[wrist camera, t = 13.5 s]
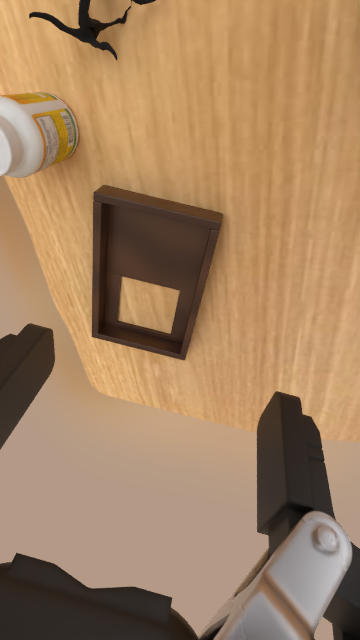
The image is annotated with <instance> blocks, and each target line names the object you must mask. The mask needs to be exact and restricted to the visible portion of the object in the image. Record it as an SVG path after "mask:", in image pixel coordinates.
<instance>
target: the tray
mask: <svg viewBox="0 0 360 640" xmlns="http://www.w3.org/2000/svg"><path fill="white" fill-rule="evenodd" d="M222 218H223V214H222V213H218V212H214V211H210V210H206V209H201V208H197V207H193V206H189V205H185V204H181V203H176V202H172V201H168V200H164V199H160V198H156V197H151V196H147V195H143V194H139V193H135V192H131V191H126V190H122V189H118V188H114V187H110V186H106V185H102V186H101V187H100V188H99V189H97V190H96V191H95V192H94V201H93V283H92V337H94V338H98V339H102V340H106V341H110V342H114V343H118V344H122V345H126V346H130V347H134V348H138V349H142V350H146V351H150V352H153V353H157V354H161V355H165V356H169V357H173V358H177V359H181V360H185V358H186V355H187V351H188V347H189V343H190V340H191V336H192V332H193V328H194V325H195V321H196V317H197V313H198V309H199V306H200V302H201V298H202V294H203V291H204V287H205V283H206V279H207V276H208V272H209V268H210V264H211V260H212V257H213V253H214V249H215V245H216V242H217V238H218V234H219V230H220V227H221V223H222ZM121 276H124V277H128V278H132V279H136V280H140V281H144V282H148V283H152V284H156V285H160V286H164V287H168V288H172V289H176V290H180V294H179V299H178V303H177V308H176V313H175V317H174V322H173V327H172V332H171V334H168V333H164V332H160V331H156V330H152V329H148V328H144V327H140V326H136V325H132V324H128V323H124V322H120V321H118V313H119V300H120V286H121Z"/></svg>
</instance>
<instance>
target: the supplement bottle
mask: <svg viewBox="0 0 360 640" xmlns="http://www.w3.org/2000/svg"><path fill="white" fill-rule="evenodd" d="M77 143H78V127H77V123H76V120H75V118H74V115H73V114H72V112H71V110H70V109H69V108H68V106H67V105H66V104H65V103H64V102H63V101H62V100H60V99H59V98H58V97H56V96H54V95H52V94H49V93H42V92H40V93H27V94H15V95H3V96H0V176H3V175H7V176H10V177H17V178H21V177H26V176H29V175H32V174H34V173H36V172H38V171H41V170H43V169H45V168H47V167H49V166H51V165H54V164H56V163H58V162H60V161H62V160H65V159H66V158H68V157H69V156H71V155H72V153H73V152H74V150H75V149H76V146H77Z"/></svg>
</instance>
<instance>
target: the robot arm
mask: <svg viewBox="0 0 360 640" xmlns="http://www.w3.org/2000/svg"><path fill="white" fill-rule="evenodd" d="M54 362H55V353H54V339H53V331H52V329H49V328H45V327H42V326H38V325H34V324H31V323H30V324H28V325H26V326H25V327H24V328H23V330H22V331H21V332H20V333H19V334H18V335H17V336H16V335H13V334H9V335H7V336H5V337H3V338H2V339H0V449H1V448H2V446H3V444H4V443H5V442H6V440H7V439H8V437H9V436H10V434H11V433H12V431H13V430H14V428H15V427H16V425H17V424H18V422H19V421H20V419H21V418H22V416H23V415H24V413H25V412H26V410H27V409H28V407H29V406H30V404H31V403H32V401H33V400H34V398H35V396H36V395H37V394H38V392H39V390H40V389H41V388H42V386H43V384H44V383H45V381H46V380H47V378H48V377H49V375H50V373H51V372H52V369H53V366H54ZM257 532H258V533H262V534H265V535H269V548H268V549H267V550H266V551H265V553H264V554H263V555H262V556H261V558H260V559H259V560H258V562H257V563H256V564H255V566H254V567H253V568H252V570H251V571H250V572H249V573H248V575H247V576H246V577H245V579H244V580H243V582H242V583H241V584H240V585H239V587H238V588H237V589H236V590H235V592H234V593H233V595H232V596H231V597H230V598H229V599H228V601H227V602H226V603H225V604H224V605H223V606H222V607H221V608H220V610H219V611H218V612H217V613H216V614H215V616H214V617H213V618H212V619H211V620H210V622H209V623H208V624H207V626H206V627H205V628H204V630H203V631H202V632H201V633H200V635H199V636H197V635H196V633H195V632H194V630H193V629H192V627H191V626H190V625H189V624H188V622H187V621H186V620H185V619H184V618H183V617H182V616H181V615H180V614H179V613H178V612H177V611H175V610H174V609H172V608H171V602H172V598H171V597H168V596H165V595H161V594H158V593H154V592H151V591H147V590H144V589H140V588H137V587H118V588H117V587H116V588H96V589H92V588H88V587H86V586H85V585H83V584H82V583H81V582H79V581H78V580H76V579H75V578H73V577H72V576H71V575H69V574H68V573H67V572H65V571H64V570H62V569H61V568H60V567H58V566H57V565H55V564H53V563H50V562H46V561H43V560H40V559H36V558H33V557H29V556H26V555H22V554H19V553H16V555H15V557H14V559H13V561H12V562H7V563H2V564H0V640H315V639H314V632H315V630H316V628H317V626H318V624H319V621H320V620H321V618H322V616H323V617H324V618H325V619H327V620H328V621H330V622H331V623H332V626H333V636H334V640H360V549H359V548H358V547H356V546H355V545H354V544H353V543H352V542H351V541H350V540H349V538H348V536H347V534H346V532H345V530H344V529H343V528H342V526H341V525H340V524H339V523H338V522H337V521H336V519H335V516H334V512H333V507H332V502H331V496H330V490H329V484H328V478H327V473H326V467H325V463H324V455H323V450H322V444H321V438H320V432H319V430H318V428H317V426H316V425H315V423H314V421H313V419H312V417H310V416H306V415H303V414H302V407H301V401H300V398H299V397H296V396H293V395H289V394H285V393H282V392H278V391H277V392H275V393H274V395H273V397H272V398H271V400H270V402H269V403H268V405H267V407H266V408H265V410H264V412H263V413H262V415H261V417H260V420H259V423H258V428H257Z"/></svg>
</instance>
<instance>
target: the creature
mask: <svg viewBox="0 0 360 640" xmlns="http://www.w3.org/2000/svg"><path fill="white" fill-rule="evenodd" d="M132 1H134V2H135V3H137V4H140V5H142V4H147V3H151V2H154V1H155V0H131V2H132ZM89 4H90V0H80V1H79V23H78V24H79V26H80V28H79V29H73V28H69V27H67V26H66V25H64V24H63V23H62V22H60V21H59V20H58V19H57V18H55V17H54V16H52V15H50V14H47V13H41V12H32V13H30V14H29V18H31V17H39V18H43V19H45V20H48V21H50V22H51V23H53V24H54V25H55V26H56V27H57V28H59V29H60V30H62V31H64V32H66V33H68V34H70V35H72V36H74V37H76V38H77V39H79V40H80V41H82V42H85V43H90V44H91V45H92V46H93V47H95V48H99V49H101V50H108V51H110V52H111V53H112V54H113V55H114V57H115V58H116V60H117V55H116V53H115V51H114V49H113V48H112V47H111V46H110V44H109V43H107V42H101V43H99V42H98V41H97V40H96V39H97V37H98V35H99V33H100V31H102V30H104V29H106V28H107V27H109V26H112V25H115V24H118V23H120V24H123V23H125V21H126V16H127V11H128V10H129V9H130V8H131V6H130V7H129V8H128V9H127V10H126V11H125V14H124V16H123V18H122V19H121V18H118V19H117V20H115V21H114V22H111V23H101V22H100V21H98V20H95V19H91V18H89V14H88V10H89Z"/></svg>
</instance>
